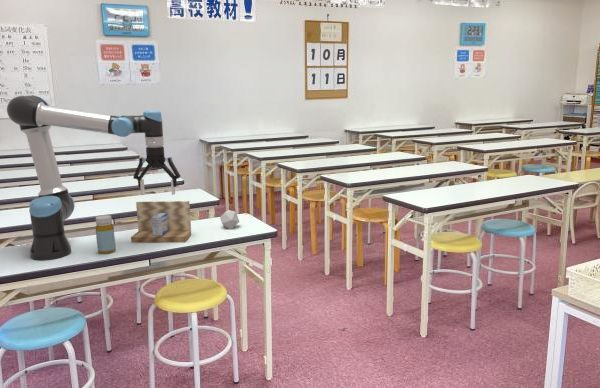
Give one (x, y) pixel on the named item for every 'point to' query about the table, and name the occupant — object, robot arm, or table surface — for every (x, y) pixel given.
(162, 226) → the medicine box
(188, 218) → the cleat board
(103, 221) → the bottle
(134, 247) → the table surface
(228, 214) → the die
